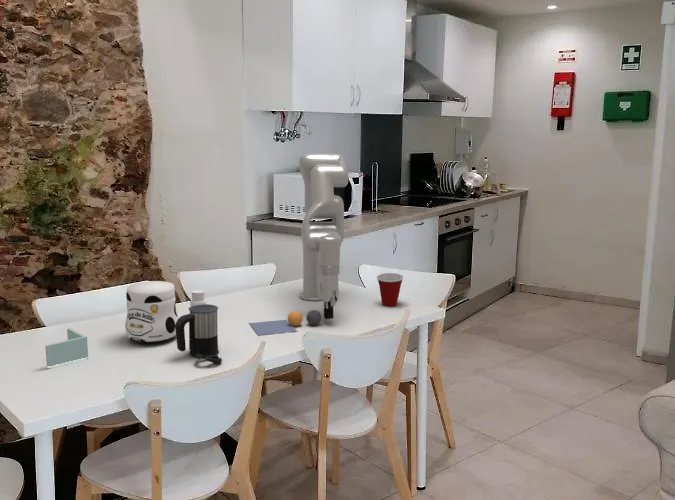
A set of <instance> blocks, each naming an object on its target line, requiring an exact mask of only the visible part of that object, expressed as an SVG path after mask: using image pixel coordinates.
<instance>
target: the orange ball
mask: <svg viewBox="0 0 675 500" xmlns="http://www.w3.org/2000/svg"><path fill="white" fill-rule="evenodd" d="M287 321H288V322H289V323H290V324H291V325H292V326H293V327H297V326H299V325H300V324H301V323H302V322H303V315H302V313H301V311H298V310H292V311H290V312H289V313H288V314H287Z"/></svg>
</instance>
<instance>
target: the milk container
mask: <svg viewBox="0 0 675 500" xmlns="http://www.w3.org/2000/svg"><path fill="white" fill-rule="evenodd" d="M126 287H127V288H126V294H125V295H126V297H125V298H126V310H127V312H126V313H127V314H126V318H125V322H124V328H125V329H124V330H125V335H126V337H127V338H128V339H129V340H130V341H132V342H134V343H139V344H159V343H163V342H167V341H169V340H171V339H173V338H174V337H176V329H175V325H176V322H177V320H178V319H179V317H178V316H179V315H178V313H177V309H176V307H177V306H176V289H175V288H176V287H175V284H174V283H172V282H169V281H161V280H151V281H149V280H147V281H139V282H136V283H135V282H134V283H132V284H129V285H128V286H126Z"/></svg>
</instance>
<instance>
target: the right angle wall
mask: <svg viewBox="0 0 675 500" xmlns="http://www.w3.org/2000/svg"><path fill="white" fill-rule="evenodd" d="M66 332H67V334H66V335H67V340H62V341H59V342H54V343H49V344H45V358H46V367H47V366H53V365H56V364H61V363H65V362H69V361H73V360H77V359H81V358H86V357H88V358H89V351H88V350H89V348H88V337H87V336H86V335H84V334H82V333H80V332H78V331H77V330H74V328H73V329H72V328H71V327H67V328H66Z"/></svg>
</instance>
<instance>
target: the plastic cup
mask: <svg viewBox="0 0 675 500" xmlns="http://www.w3.org/2000/svg"><path fill="white" fill-rule="evenodd" d="M404 278H405V277H404V275H403V274H400V273H396V272H384V273H380V274H378V275H376V279H377V282H378V285H379V286H378V287H379V293H380V298H381V300H380V301H381V304H382V306H384V307H388V308H389V307H396V306H397V304H398V299H399V295H400V292H401V285H402V282H403V279H404Z"/></svg>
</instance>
